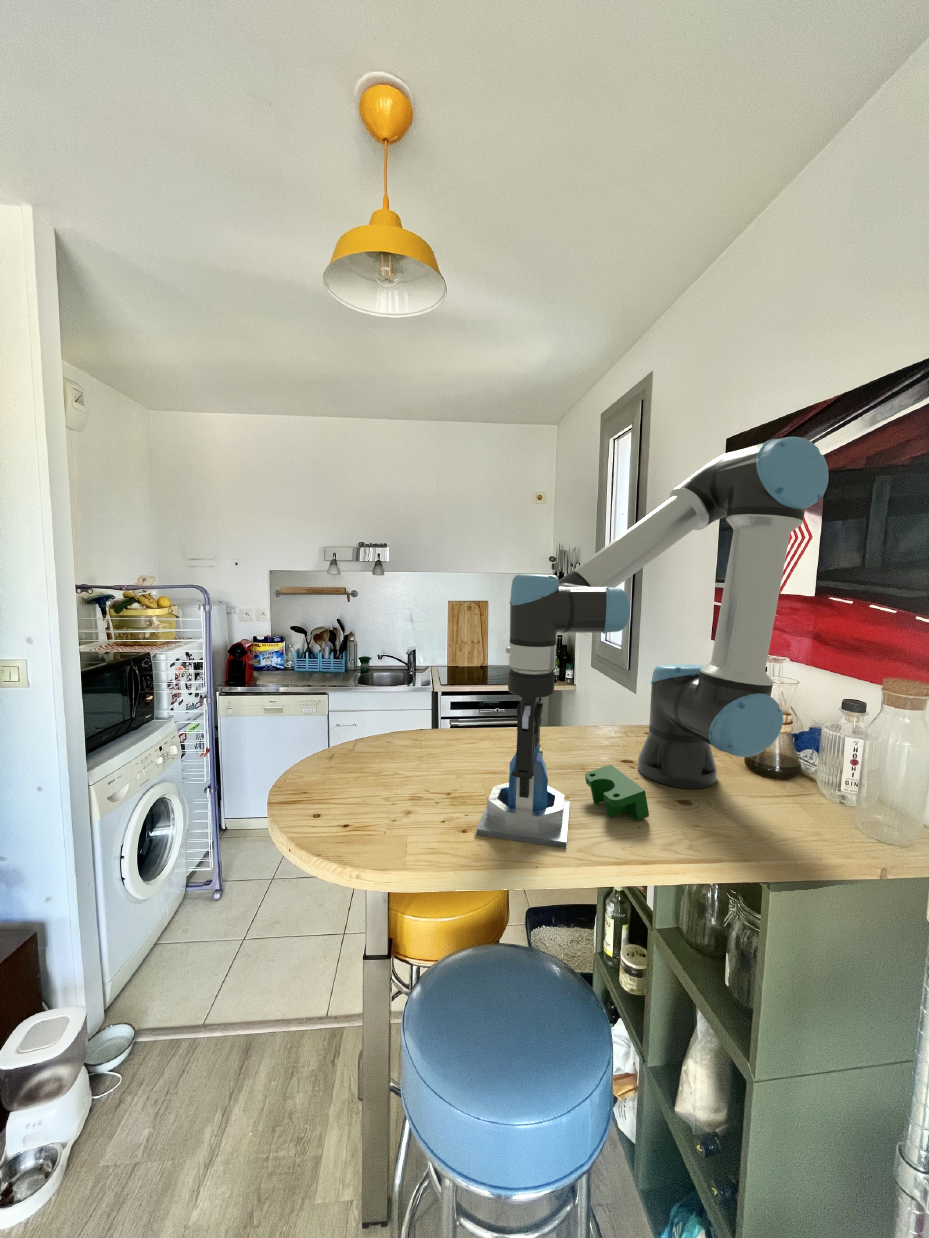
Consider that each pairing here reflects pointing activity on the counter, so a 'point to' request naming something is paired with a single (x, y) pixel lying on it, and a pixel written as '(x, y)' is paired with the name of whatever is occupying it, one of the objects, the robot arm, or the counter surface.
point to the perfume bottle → (539, 781)
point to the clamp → (617, 793)
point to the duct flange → (526, 819)
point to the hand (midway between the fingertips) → (526, 803)
